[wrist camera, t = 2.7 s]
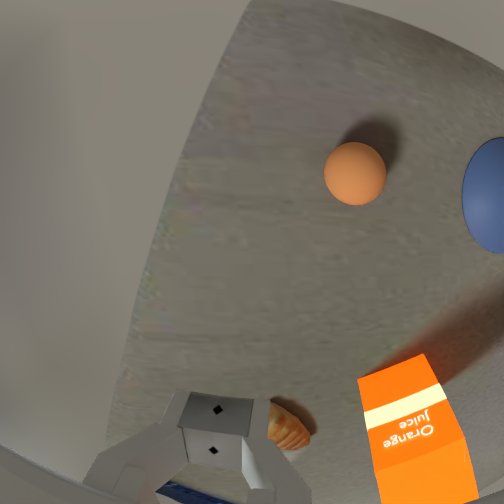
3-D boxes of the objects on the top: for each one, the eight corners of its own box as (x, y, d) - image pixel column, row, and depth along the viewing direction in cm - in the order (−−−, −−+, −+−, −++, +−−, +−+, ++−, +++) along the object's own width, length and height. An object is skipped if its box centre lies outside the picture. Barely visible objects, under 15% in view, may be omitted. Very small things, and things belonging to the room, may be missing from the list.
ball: (379, 146, 28) (396, 145, 23) (375, 202, 30) (390, 212, 24) (323, 140, 29) (329, 137, 23) (319, 197, 30) (324, 206, 25)
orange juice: (430, 393, 35) (476, 513, 16) (370, 417, 37) (391, 544, 18) (423, 351, 34) (484, 482, 15) (356, 378, 36) (380, 522, 17)
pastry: (322, 425, 39) (322, 445, 35) (290, 447, 41) (288, 467, 37) (268, 395, 38) (264, 415, 35) (238, 420, 40) (233, 439, 37)
